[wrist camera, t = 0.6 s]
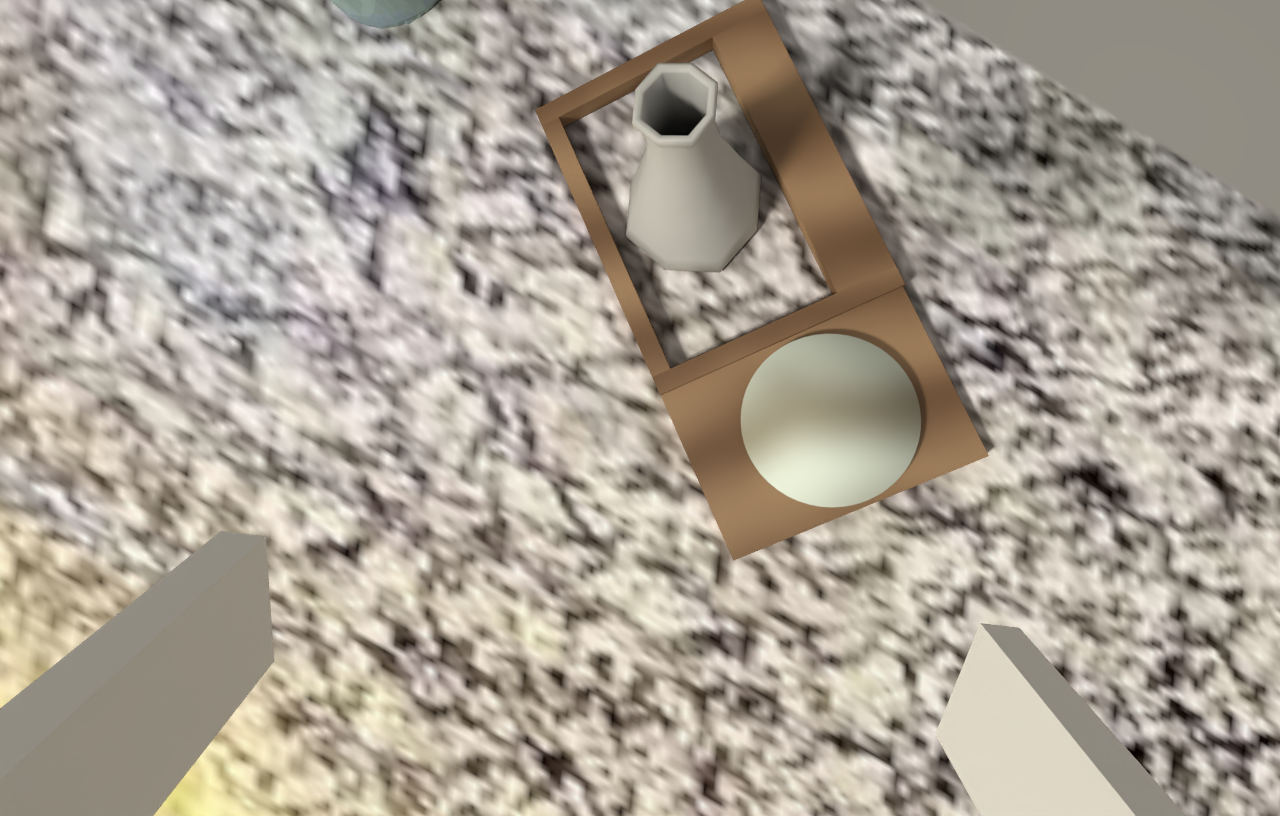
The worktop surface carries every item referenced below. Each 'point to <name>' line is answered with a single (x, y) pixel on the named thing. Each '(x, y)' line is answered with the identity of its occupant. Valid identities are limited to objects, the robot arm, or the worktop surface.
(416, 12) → the green cup
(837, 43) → the worktop surface
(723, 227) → the flask
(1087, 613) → the worktop surface
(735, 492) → the board
